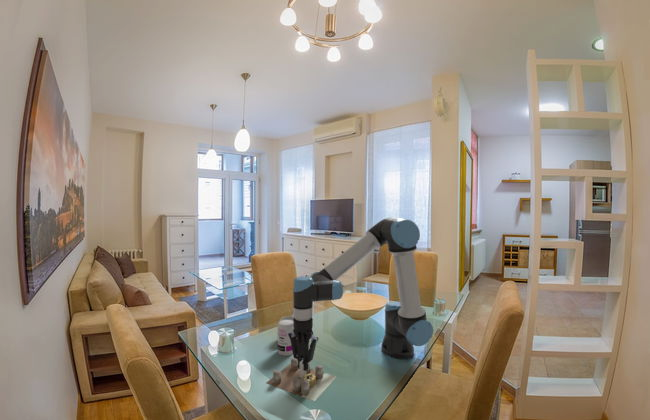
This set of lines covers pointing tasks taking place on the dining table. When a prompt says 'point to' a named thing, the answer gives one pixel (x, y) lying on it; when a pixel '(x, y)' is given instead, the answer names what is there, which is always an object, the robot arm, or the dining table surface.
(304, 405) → the dining table surface
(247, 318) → the dining table surface
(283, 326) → the supplement can
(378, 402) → the dining table surface
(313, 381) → the brass nut
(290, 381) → the board
